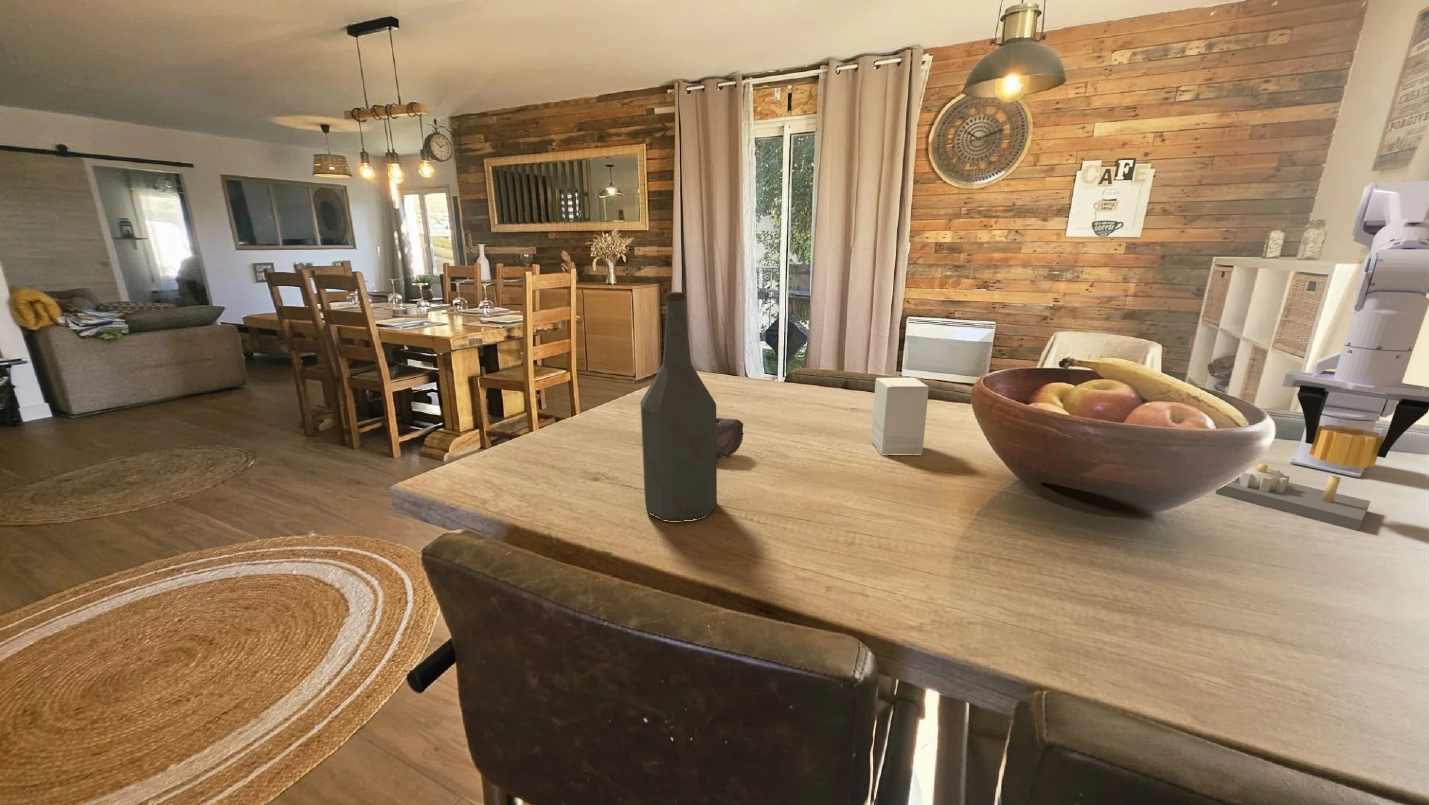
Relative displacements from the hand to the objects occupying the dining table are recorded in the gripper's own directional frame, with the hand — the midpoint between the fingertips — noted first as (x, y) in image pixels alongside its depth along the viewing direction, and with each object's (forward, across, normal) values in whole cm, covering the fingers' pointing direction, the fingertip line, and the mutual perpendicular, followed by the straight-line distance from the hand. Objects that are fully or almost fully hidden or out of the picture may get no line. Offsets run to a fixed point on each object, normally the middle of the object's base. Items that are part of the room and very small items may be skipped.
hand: (1344, 448), depth 73 cm
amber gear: (+2, 0, 0) cm, 2 cm away
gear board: (+9, -4, 0) cm, 10 cm away
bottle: (+9, -54, -70) cm, 89 cm away
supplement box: (+9, -50, -26) cm, 58 cm away
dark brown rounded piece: (+10, -70, -56) cm, 90 cm away
